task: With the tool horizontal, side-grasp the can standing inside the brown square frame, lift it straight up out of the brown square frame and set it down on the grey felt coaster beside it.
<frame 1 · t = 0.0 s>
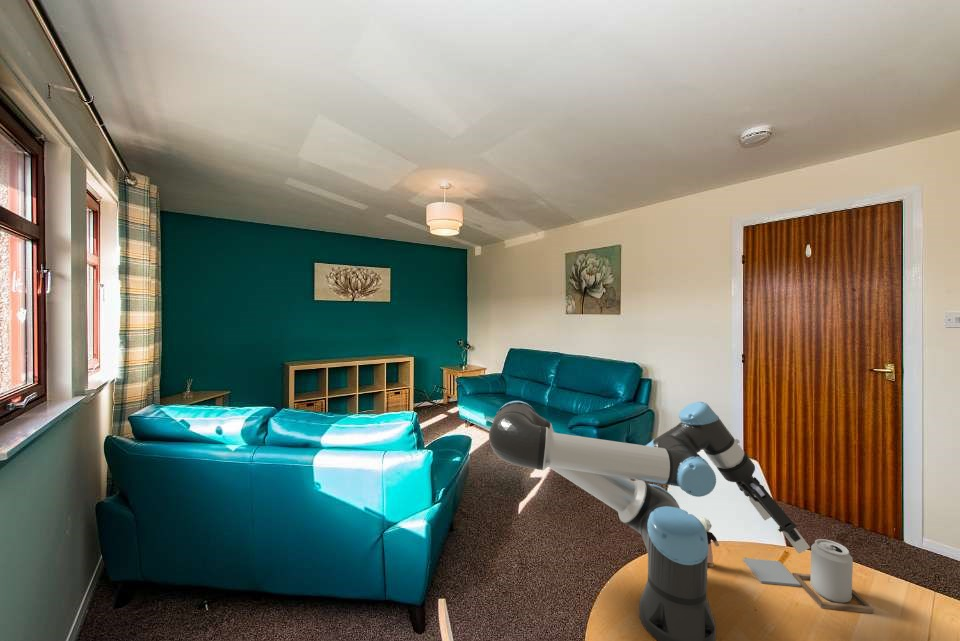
hand: (785, 532, 94), 15 cm above the table, tool tilted 35°, fingers open, 13 cm apart
brown square frame: (830, 593, 95), on the table
grandmother figurine: (703, 565, 106), on the table
can: (830, 594, 95), resting in brown square frame
coaster: (770, 572, 102), on the table
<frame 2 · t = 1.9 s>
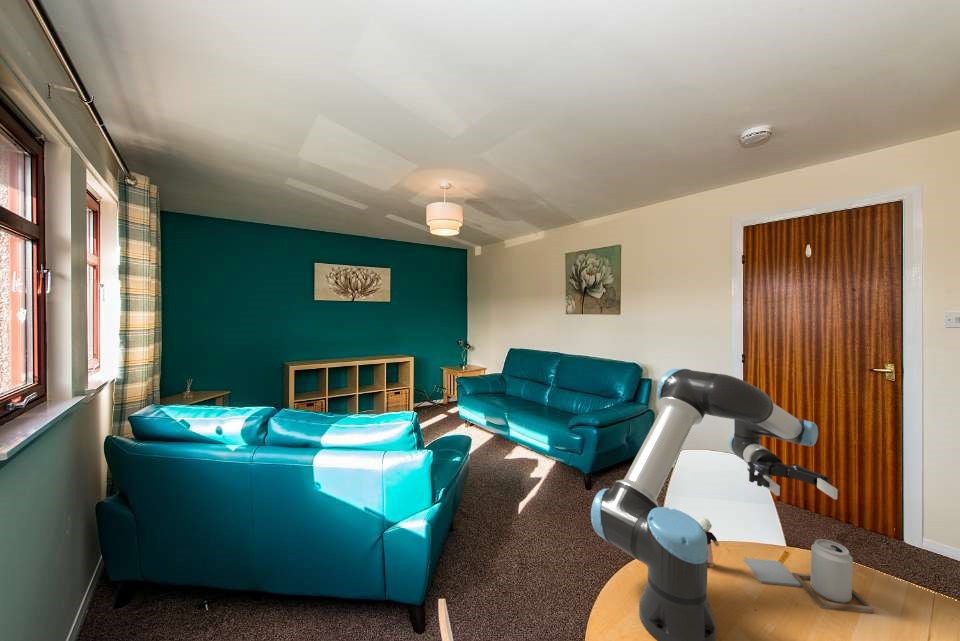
hand: (806, 492, 103), 21 cm above the table, tool horizontal, fingers open, 13 cm apart
nothing on the table moved.
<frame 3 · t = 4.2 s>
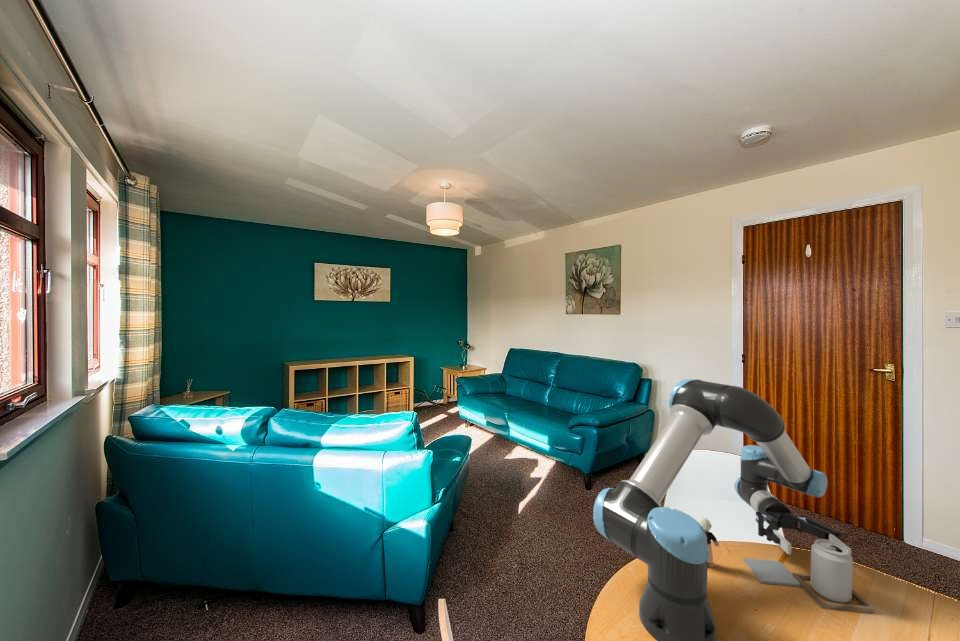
hand: (819, 551, 99), 7 cm above the table, tool horizontal, fingers open, 13 cm apart
nothing on the table moved.
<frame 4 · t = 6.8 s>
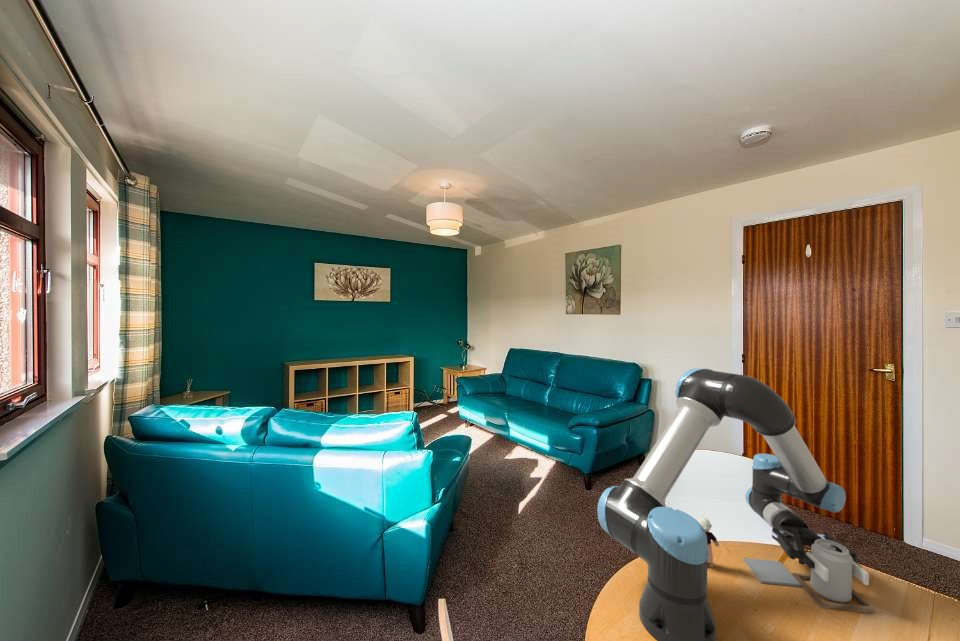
hand: (846, 577, 90), 8 cm above the table, tool horizontal, fingers closed on can, 7 cm apart
can: (830, 594, 95), resting in brown square frame, touching gripper
everything else where it was.
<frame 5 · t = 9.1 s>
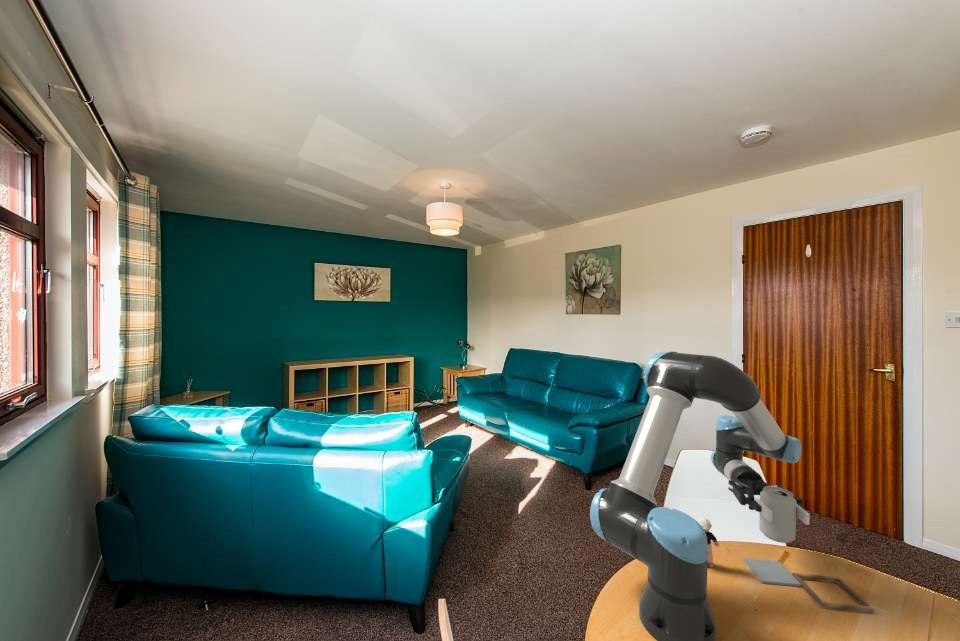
hand: (788, 517, 96), 18 cm above the table, tool horizontal, fingers closed on can, 7 cm apart
can: (776, 536, 101), point 10 cm above the table, touching gripper
everything else where it was.
when the fingers open (9 cm above the table, at t = 11.7 s): can stays where it is, resting on coaster.
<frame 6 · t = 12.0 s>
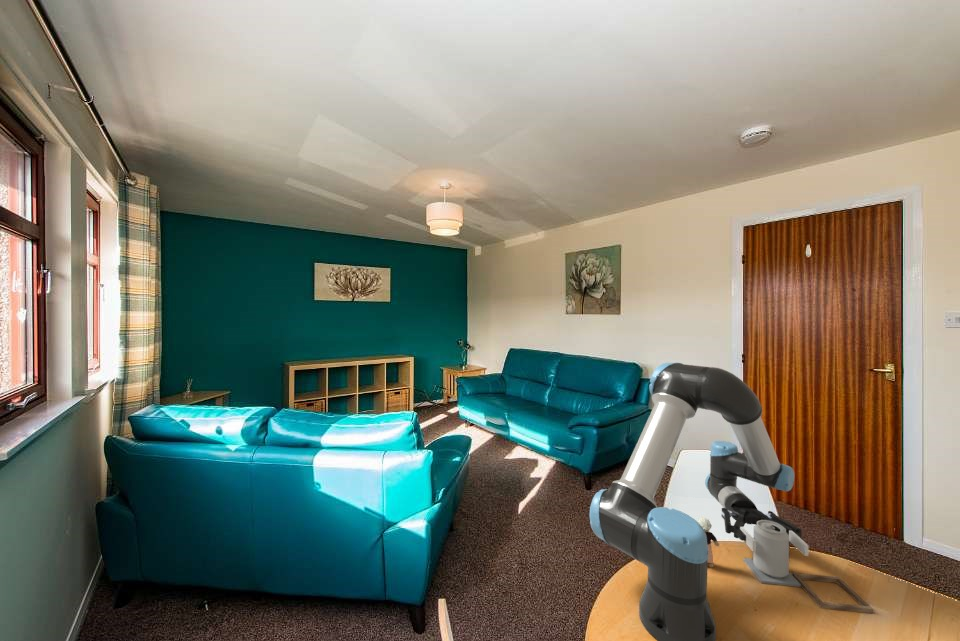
hand: (780, 548, 98), 9 cm above the table, tool horizontal, fingers open, 11 cm apart
can: (770, 571, 102), resting on coaster
everything else where it was.
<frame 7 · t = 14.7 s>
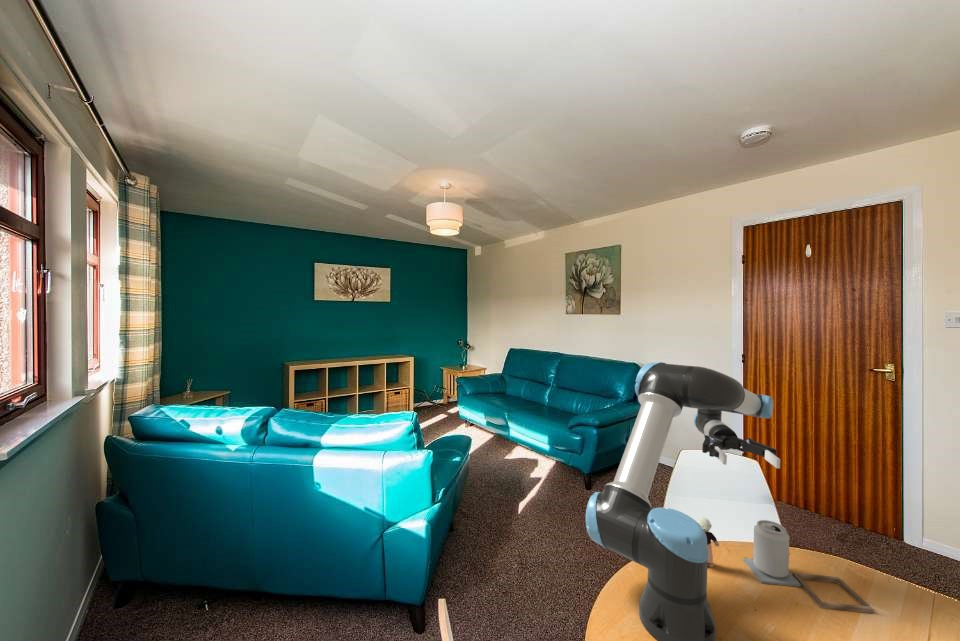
hand: (751, 462, 110), 26 cm above the table, tool horizontal, fingers open, 13 cm apart
nothing on the table moved.
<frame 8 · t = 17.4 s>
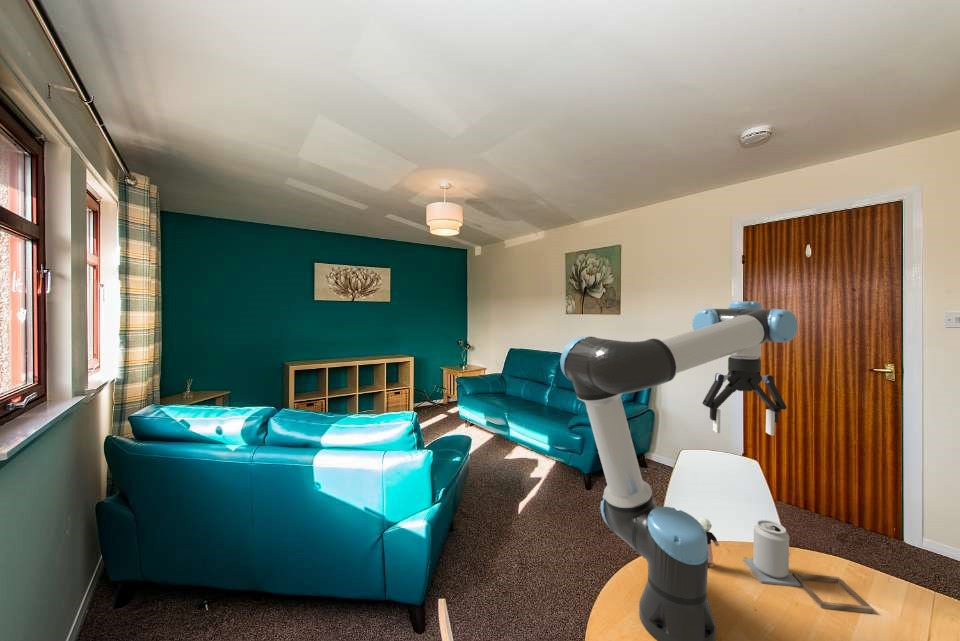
hand: (742, 433, 108), 35 cm above the table, tool pointing down, fingers open, 13 cm apart
nothing on the table moved.
at the end: can inside the target area (0.1 cm from its centre), resting on coaster; can tilted 0°; the gripper is holding nothing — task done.
